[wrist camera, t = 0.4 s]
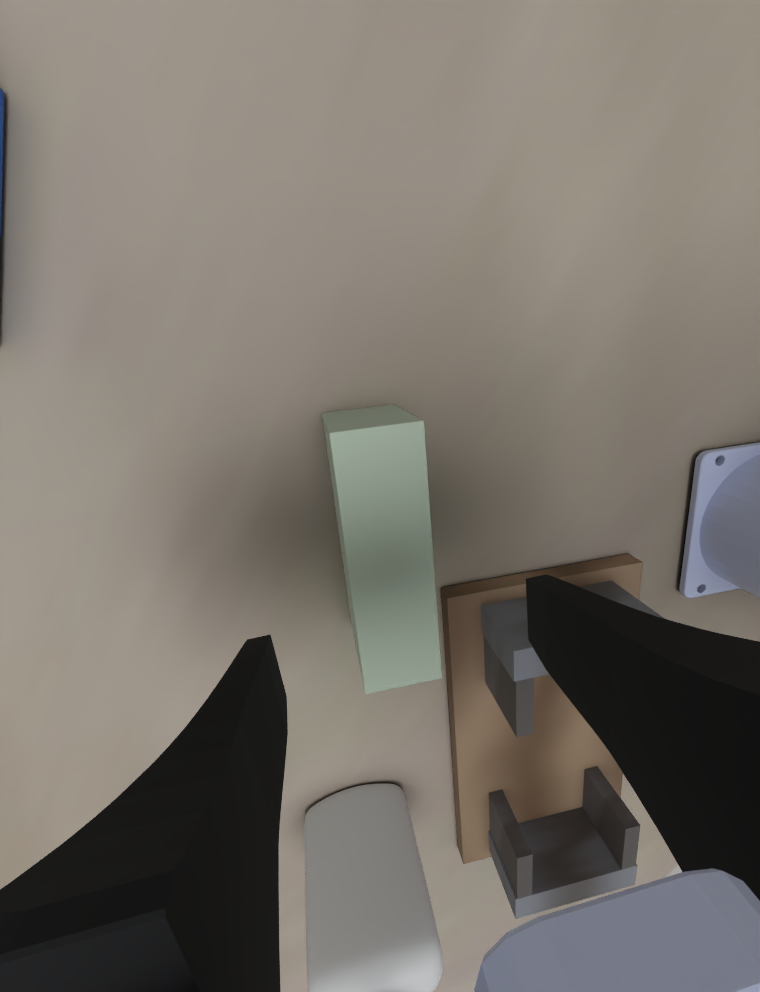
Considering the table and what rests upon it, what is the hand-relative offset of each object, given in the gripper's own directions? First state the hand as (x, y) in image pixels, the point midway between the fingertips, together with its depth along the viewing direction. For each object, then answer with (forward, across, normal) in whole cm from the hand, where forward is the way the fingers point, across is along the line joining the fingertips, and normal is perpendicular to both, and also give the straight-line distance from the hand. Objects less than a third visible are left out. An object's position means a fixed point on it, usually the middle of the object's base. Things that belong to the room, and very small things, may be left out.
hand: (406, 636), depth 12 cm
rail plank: (+9, 0, 0) cm, 9 cm away
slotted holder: (+8, -8, +13) cm, 17 cm away
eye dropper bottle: (+9, +3, +17) cm, 19 cm away
